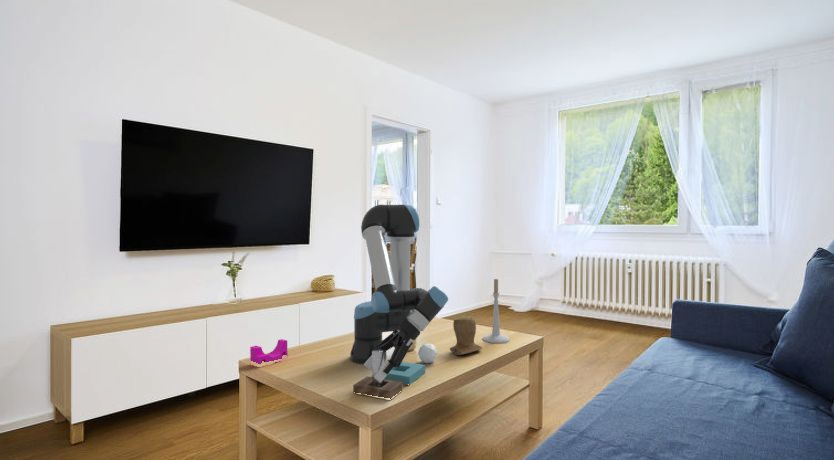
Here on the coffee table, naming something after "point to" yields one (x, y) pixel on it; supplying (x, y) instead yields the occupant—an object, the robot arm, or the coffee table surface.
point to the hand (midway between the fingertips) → (371, 373)
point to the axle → (377, 366)
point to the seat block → (406, 372)
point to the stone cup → (464, 336)
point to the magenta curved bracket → (276, 354)
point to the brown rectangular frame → (378, 388)
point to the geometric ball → (427, 353)
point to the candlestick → (496, 321)
